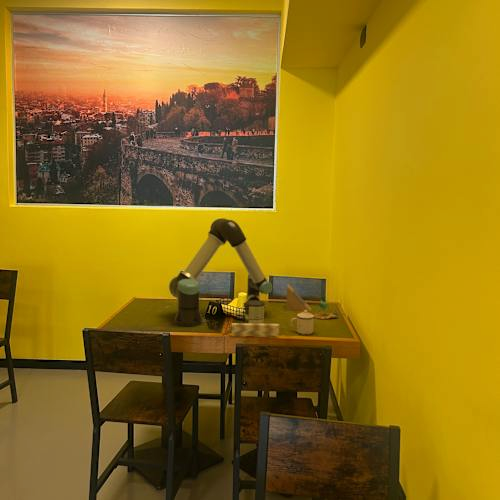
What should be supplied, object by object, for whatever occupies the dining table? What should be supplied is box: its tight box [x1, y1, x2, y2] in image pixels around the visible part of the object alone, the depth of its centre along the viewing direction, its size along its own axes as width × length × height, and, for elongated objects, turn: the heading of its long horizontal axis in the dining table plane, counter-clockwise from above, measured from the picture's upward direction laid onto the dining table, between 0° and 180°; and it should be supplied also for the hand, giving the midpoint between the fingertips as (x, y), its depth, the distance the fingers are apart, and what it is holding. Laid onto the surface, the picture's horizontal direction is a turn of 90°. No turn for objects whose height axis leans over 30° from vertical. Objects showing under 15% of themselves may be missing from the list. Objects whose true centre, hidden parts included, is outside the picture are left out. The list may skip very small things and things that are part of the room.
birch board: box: [231, 322, 280, 338], centre depth 239 cm, size 24×3×6 cm, turn 91°
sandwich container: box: [285, 283, 312, 312], centre depth 293 cm, size 9×15×15 cm, turn 81°
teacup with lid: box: [290, 310, 315, 335], centre depth 246 cm, size 12×9×12 cm
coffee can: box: [244, 300, 266, 324], centre depth 251 cm, size 10×10×14 cm
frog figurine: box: [313, 294, 341, 320], centre depth 275 cm, size 10×18×15 cm, turn 77°
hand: (255, 312), depth 256 cm, fingers closed
